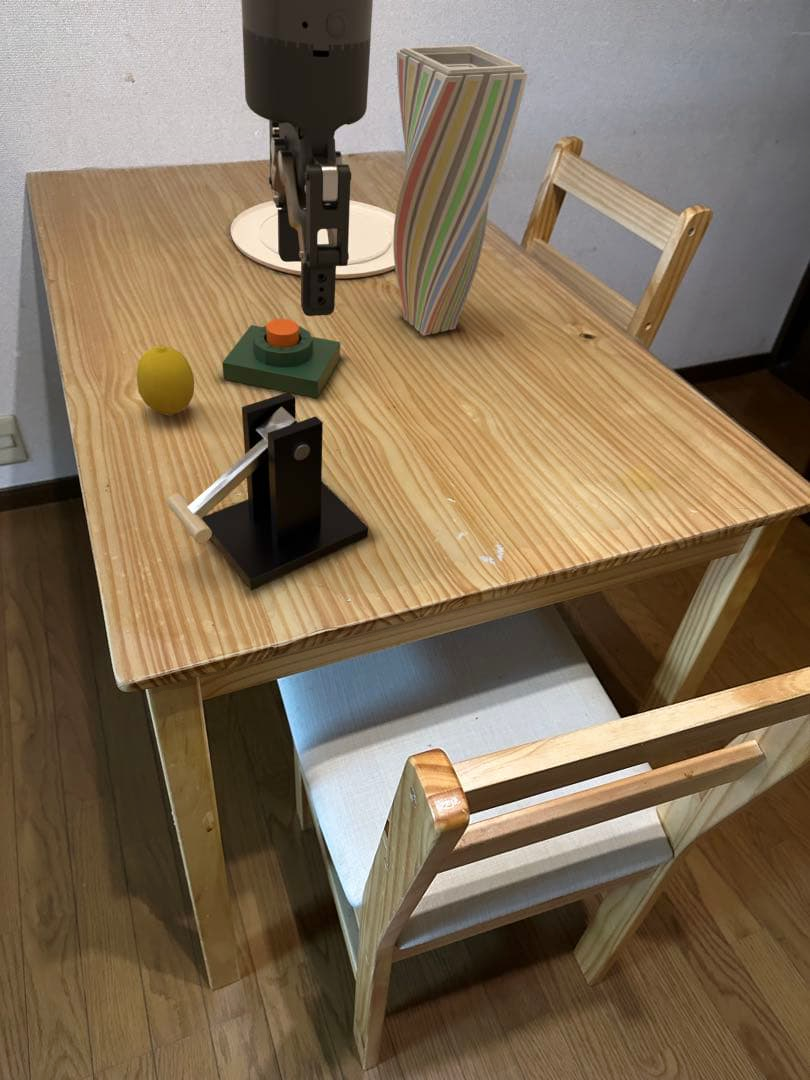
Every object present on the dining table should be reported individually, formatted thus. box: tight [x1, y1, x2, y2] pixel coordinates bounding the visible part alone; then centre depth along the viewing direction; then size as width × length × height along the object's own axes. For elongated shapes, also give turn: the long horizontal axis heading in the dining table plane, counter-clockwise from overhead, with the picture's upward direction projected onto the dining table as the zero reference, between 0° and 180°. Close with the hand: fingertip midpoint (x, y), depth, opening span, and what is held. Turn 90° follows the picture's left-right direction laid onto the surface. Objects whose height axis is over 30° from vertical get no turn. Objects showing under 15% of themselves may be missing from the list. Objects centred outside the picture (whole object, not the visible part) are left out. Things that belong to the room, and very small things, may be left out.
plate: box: [229, 199, 396, 279], centre depth 115 cm, size 28×28×1 cm
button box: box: [221, 324, 341, 399], centre depth 87 cm, size 11×9×4 cm
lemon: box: [136, 344, 195, 416], centre depth 77 cm, size 6×6×8 cm
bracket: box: [202, 392, 369, 590], centre depth 65 cm, size 12×9×13 cm
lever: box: [166, 407, 299, 544], centre depth 61 cm, size 12×5×2 cm, turn 128°
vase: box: [393, 44, 528, 336], centre depth 89 cm, size 14×14×30 cm
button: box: [265, 318, 300, 347], centre depth 85 cm, size 4×4×2 cm
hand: (304, 285), depth 56 cm, fingers open, 8 cm apart
